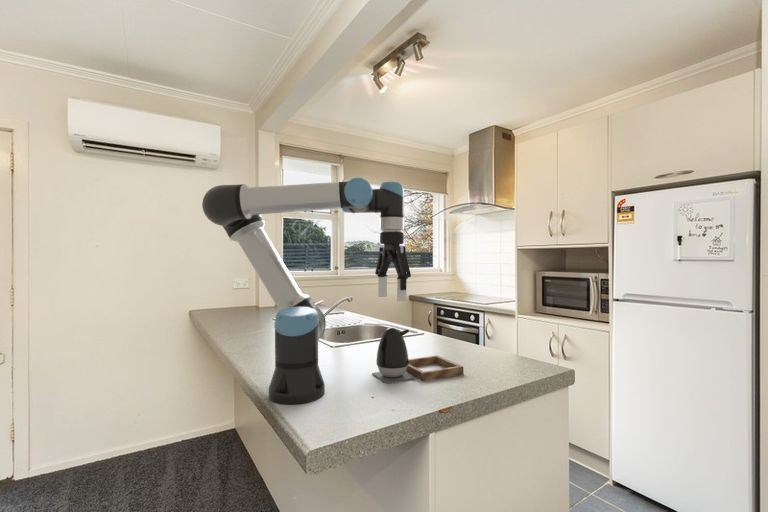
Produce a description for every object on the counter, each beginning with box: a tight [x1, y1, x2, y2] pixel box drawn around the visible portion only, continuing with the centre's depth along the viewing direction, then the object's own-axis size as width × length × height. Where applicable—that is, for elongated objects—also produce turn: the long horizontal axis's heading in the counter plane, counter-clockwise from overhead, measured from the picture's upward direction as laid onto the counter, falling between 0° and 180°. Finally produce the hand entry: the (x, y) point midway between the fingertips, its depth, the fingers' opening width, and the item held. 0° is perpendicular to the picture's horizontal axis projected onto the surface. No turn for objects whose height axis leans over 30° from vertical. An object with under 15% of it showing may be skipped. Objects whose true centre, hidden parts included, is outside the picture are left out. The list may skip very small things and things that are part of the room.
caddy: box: [405, 355, 464, 382], centre depth 123 cm, size 15×15×2 cm
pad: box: [371, 371, 416, 385], centre depth 118 cm, size 10×10×1 cm
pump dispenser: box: [375, 326, 410, 378], centre depth 118 cm, size 10×10×15 cm
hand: (391, 298), depth 118 cm, fingers open, 13 cm apart
